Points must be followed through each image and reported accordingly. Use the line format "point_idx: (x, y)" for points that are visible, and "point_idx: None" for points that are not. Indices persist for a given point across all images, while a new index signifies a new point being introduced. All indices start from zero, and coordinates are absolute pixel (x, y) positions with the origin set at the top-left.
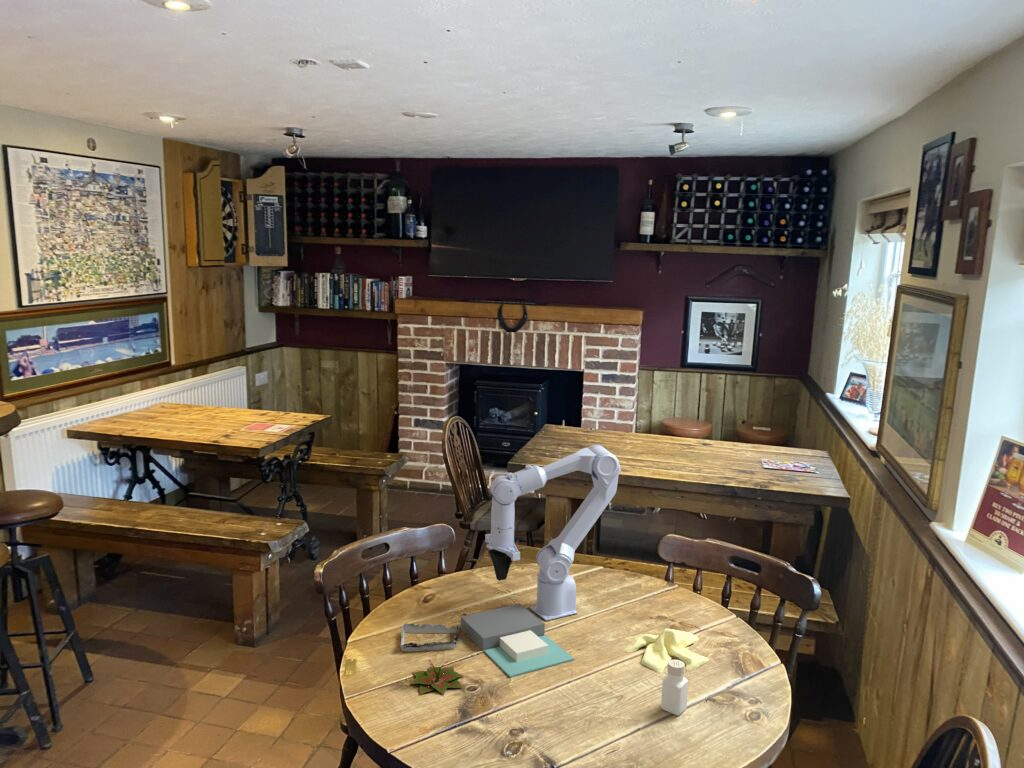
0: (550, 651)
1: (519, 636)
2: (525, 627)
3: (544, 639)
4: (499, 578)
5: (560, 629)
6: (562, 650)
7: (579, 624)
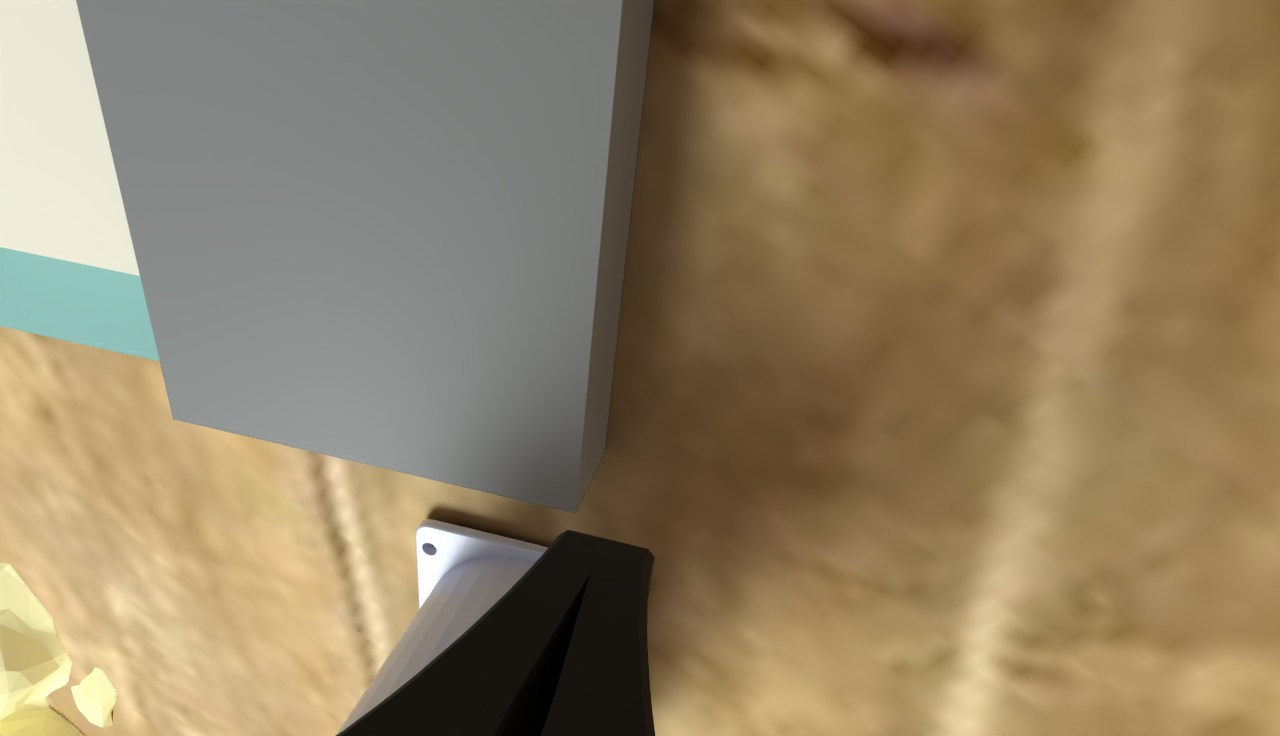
0: None
1: (68, 124)
2: (147, 254)
3: None
4: (546, 558)
5: (295, 504)
6: (12, 318)
7: (314, 616)
